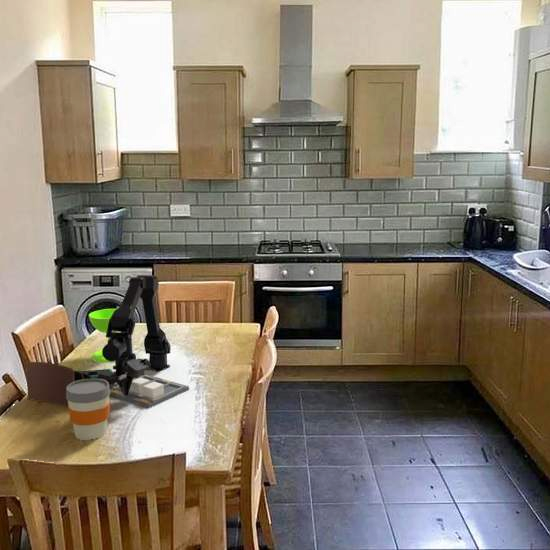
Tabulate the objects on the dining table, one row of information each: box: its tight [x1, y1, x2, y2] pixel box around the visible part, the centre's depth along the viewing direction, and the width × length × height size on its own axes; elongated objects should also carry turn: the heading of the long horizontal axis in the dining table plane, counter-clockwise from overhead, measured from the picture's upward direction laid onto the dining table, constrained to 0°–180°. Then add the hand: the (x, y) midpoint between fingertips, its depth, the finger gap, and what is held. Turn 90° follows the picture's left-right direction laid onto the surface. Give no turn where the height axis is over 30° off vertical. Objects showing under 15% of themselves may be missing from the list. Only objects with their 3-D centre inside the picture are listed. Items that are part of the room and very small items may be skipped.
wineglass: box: [88, 308, 118, 363], centre depth 250 cm, size 16×16×18 cm
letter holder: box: [25, 361, 92, 407], centre depth 208 cm, size 10×20×14 cm, turn 69°
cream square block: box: [143, 382, 164, 399], centre depth 207 cm, size 5×5×4 cm
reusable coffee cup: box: [66, 378, 111, 441], centre depth 182 cm, size 13×12×15 cm
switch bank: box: [109, 374, 190, 408], centre depth 214 cm, size 19×20×2 cm
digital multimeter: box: [76, 368, 114, 379], centre depth 227 cm, size 7×15×3 cm, turn 101°
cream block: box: [130, 377, 150, 395], centre depth 210 cm, size 5×5×4 cm
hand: (125, 395), depth 205 cm, fingers closed
